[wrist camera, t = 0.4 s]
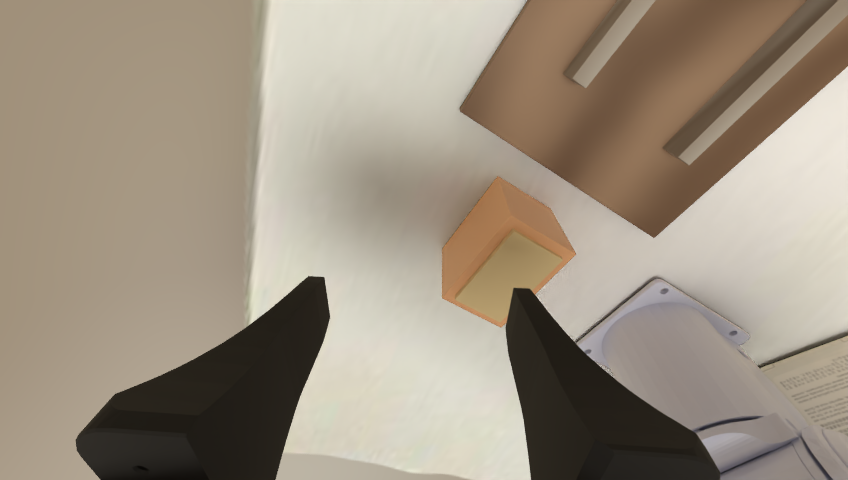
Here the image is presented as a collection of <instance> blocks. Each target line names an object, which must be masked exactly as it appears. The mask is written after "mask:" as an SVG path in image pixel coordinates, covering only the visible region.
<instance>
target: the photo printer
mask: <svg viewBox="0 0 848 480" xmlns="http://www.w3.org/2000/svg"><path fill="white" fill-rule="evenodd" d="M760 369H761V371H762V372H763V373H764V374H765V375H766V376H767V377H768V378H769V379H770V380H771V382H772V383H773V384H774V385H775V386H776V387H777V388H778V389H779V390H780V392H781V393H782V394H783V395H784V396H785V397H786V398H787V399H788V400H789V401H790V403H791V404H792V405H793V406H794V407H795V408H796V409H797V410H798V411H799V413H800V414H801V415H802V416H803V418H804V419H805V421H806V422H807V424H808V426H811V425H819V426H822V427H824V428H825V429H829V430H833V431H837V432H840V433H843V434H845V435H846V436H848V336H846V337H843V338H840V339H838V340H835V341H832V342H829V343H827V344H824V345H821V346H819V347H816V348H813V349H810V350H808V351H805V352H802V353H800V354H797V355H794V356H791V357H789V358H786V359H784V360H781V361H778V362H775V363H773V364H769V365H767V366H764V367H762V368H760Z"/></svg>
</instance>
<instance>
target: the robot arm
mask: <svg viewBox="0 0 848 480" xmlns="http://www.w3.org/2000/svg"><path fill="white" fill-rule="evenodd" d="M664 288H665V289H664ZM662 289H664V290H662ZM329 319H330V313H329V306H328V299H327V293H326V286H325V279H324V277H313V276H308V277H307V278H306V279H305V280H304V281H302V282H301V283H300V284H299V285H298V286H297V287H296V288H294V289H293V290H292V291H291V292H290V293H289V294H288V295H286V296H285V297H284V298H283V299H282V300H281V301H279V302H278V303H277V304H276V305H275V306H273V307H272V308H271V309H270V310H269V311H267V312H266V313H265V314H263V315H262V316H261V317H259V318H258V319H257V320H256V321H254V322H253V323H252V324H250V325H249V326H248V327H246V328H245V329H243V330H242V331H240V332H239V333H237V334H236V335H234V336H233V337H231V338H230V339H228V340H227V341H225V342H224V343H222V344H220V345H219V346H217V347H215V348H213V349H211V350H210V351H208V352H206V353H204V354H203V355H201V356H199V357H197V358H196V359H194V360H192V361H190V362H188V363H186V364H184V365H182V366H180V367H178V368H176V369H173V370H171V371H169V372H167V373H165V374H163V375H161V376H158V377H156V378H154V379H151V380H149V381H147V382H144V383H142V384H139V385H137V386H134V387H132V388H130V389H127V390H125V391H122V392H120V393H117V394H115V395H114V396H113V397H112V398H111V399H110V400H109V401H108V403H107V404H106V405H105V406H104V407H103V408H102V409H101V410H100V411H99V413H98V414H97V415H96V416H95V417H94V418H93V419H92V420H91V421H90V423H89V424H88V425H87V426H86V427H85V428H84V429H83V431H81V433H80V434H79V435H78V437H77V439H76V447H77V451H78V453H79V454H80V456H81V457H82V458H83V460H84V461H85V462H86V463H87V464H88V465H89V467H90V468H91V469H92V470H93V471H94V472H95V474H96V475H97V476H98V477H99V478H100V479H101V480H275V479H276V475H277V471H278V468H279V464H280V460H281V457H282V453H283V450H284V446H285V443H286V439H287V436H288V433H289V429H290V426H291V423H292V419H293V416H294V413H295V410H296V407H297V404H298V401H299V398H300V396H301V393H302V391H303V388H304V386H305V384H306V381H307V379H308V376H309V374H310V372H311V369H312V367H313V365H314V362H315V360H316V358H317V355H318V353H319V351H320V348H321V346H322V343H323V341H324V337H325V334H326V331H327V327H328V323H329ZM506 337H507V346H508V353H509V358H510V362H511V366H512V371H513V375H514V379H515V383H516V387H517V391H518V396H519V400H520V404H521V408H522V414H523V419H524V426H525V433H526V440H527V448H528V456H529V465H530V473H531V480H848V436H846V435H845V434H843V433H840V432H837V431H833V430H829V429H825V428H824V427H822V426H819V425H811V426H808V424H807V422H806V421H805V419H804V418H803V416H802V415H801V414H800V413H799V411H798V410H797V409H796V408H795V407H794V406H793V405H792V404H791V403H790V401H789V400H788V399H787V398H786V397H785V396H784V395H783V394H782V393H781V392H780V390H779V389H778V388H777V387H776V386H775V385H774V384H773V383H772V382H771V380H770V379H769V378H768V377H767V376H766V375H765V374H764V373H763V372H762V371H761V369H760V368H759V367H758V366H757V365H756V364H755V363H754V362H753V361H752V359H751V358H750V357H749V356H748V355H747V354H746V353H745V352H744V351H743V350H742V348H741V347H740V345H741V344H743V343H745V342H746V341H747V340H749V338H750V335H749V334H748V333H747V332H746V331H745V330H743V329H741V328H740V327H738V326H737V325H735V324H733V323H732V322H730V321H728V320H727V319H725V318H724V317H722V316H720V315H719V314H717V313H716V312H714V311H712V310H711V309H709V308H707V307H706V306H704V305H703V304H701V303H699V302H698V301H696V300H695V299H693V298H691V297H690V296H688V295H686V294H685V293H683V292H682V291H680V290H678V289H677V288H675V287H674V286H672V285H670V284H669V283H667V282H665V281H664V280H662V279H655V280H653V281H651V282H650V283H649V284H648V285H646V286H645V287H644V288H643V289H641V290H640V291H639V292H638V293H637V294H635V295H634V296H633V297H632V298H631V299H629V300H628V301H627V302H626V303H624V304H623V305H622V306H621V307H620V308H618V309H617V310H616V311H615V312H613V313H612V314H611V315H610V316H609V317H607V318H606V319H605V320H604V321H603V322H601V323H600V324H599V325H598V326H596V327H595V328H594V329H593V330H592V331H590V332H589V333H588V334H587V335H585V336H584V337H583V338H582V339H581V340H579V341H578V342H577V343H575V342H574V341H573V340H572V339H571V338H570V337H569V336H568V335H567V334H566V333H565V331H564V330H563V329H562V328H561V327H560V326H559V324H558V323H557V322H556V321H555V320H554V318H553V317H552V316H551V315H550V314H549V312H548V311H547V310H546V309H545V307H544V306H543V305H542V303H541V302H540V301H539V299H538V298H537V297H536V296H535V294H534V293H533V292H532V290H531V289H529V288H513V293H512V298H511V303H510V308H509V313H508V318H507V323H506ZM587 349H588V350H587ZM593 360H594V361H596V362H598V363H600V364H602V365H604V366H606V367H608V368H610V369H611V371H612V373H613V376H614V378H615V379H614V378H613V377H612V376H611V375H609V374H608V373H607V372H606V371H605V370H603V369H602V368H601V367H600V366H599V365H598V364H597V363H595V362H594V361H593Z"/></svg>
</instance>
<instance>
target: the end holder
mask: <svg viewBox="0 0 848 480" xmlns="http://www.w3.org/2000/svg"><path fill="white" fill-rule="evenodd" d="M847 66H848V0H528V1H527V2H526V4H525V6H524V7H523V9H522V10H521V12H520V14H519V15H518V17H517V18H516V20H515V21H514V23H513V25H512V26H511V28H510V29H509V31H508V33H507V34H506V36H505V37H504V39H503V41H502V42H501V44H500V45H499V47H498V48H497V50H496V52H495V53H494V55H493V56H492V58H491V60H490V61H489V63H488V64H487V66H486V67H485V69H484V71H483V72H482V74H481V75H480V77H479V79H478V80H477V82H476V83H475V85H474V87H473V88H472V90H471V91H470V93H469V94H468V96H467V98H466V99H465V101H464V102H463V104H462V106H461V107H460V112H462V113H463V114H465V115H467V116H468V117H470V118H471V119H473V120H474V121H476V122H477V123H479V124H480V125H482V126H483V127H485V128H486V129H488V130H489V131H491V132H493V133H494V134H496V135H497V136H499V137H500V138H502V139H503V140H505V141H506V142H508V143H509V144H511V145H512V146H514V147H516V148H517V149H519V150H520V151H522V152H523V153H525V154H526V155H528V156H529V157H531V158H532V159H534V160H535V161H537V162H538V163H540V164H542V165H543V166H545V167H546V168H548V169H549V170H551V171H552V172H554V173H555V174H557V175H558V176H560V177H561V178H563V179H565V180H566V181H568V182H569V183H571V184H572V185H574V186H575V187H577V188H578V189H580V190H581V191H583V192H584V193H586V194H587V195H589V196H591V197H592V198H594V199H595V200H597V201H598V202H600V203H601V204H603V205H604V206H606V207H607V208H609V209H610V210H612V211H613V212H615V213H617V214H618V215H620V216H621V217H623V218H624V219H626V220H627V221H629V222H630V223H632V224H633V225H635V226H636V227H638V228H640V229H641V230H643V231H644V232H646V233H647V234H649V235H650V236H652V237H653V238H655V237H656V236H657V235H658V234H659V233H660V232H661V231H662V230H664V229H665V228H666V227H667V226H668V225H669V224H670V223H672V222H673V221H674V220H675V219H676V218H677V217H678V216H679V215H681V214H682V213H683V212H684V211H685V210H686V209H687V208H688V207H690V206H691V205H692V204H693V203H694V202H695V201H696V200H697V199H699V198H700V197H701V196H702V195H703V194H704V193H705V192H706V191H708V190H709V189H710V188H711V187H712V186H713V185H714V184H715V183H717V182H718V181H719V180H720V179H721V178H722V177H723V176H725V175H726V174H727V173H728V172H729V171H730V170H731V169H732V168H734V167H735V166H736V165H737V164H738V163H739V162H740V161H741V160H743V159H744V158H745V157H746V156H747V155H748V154H749V153H750V152H752V151H753V150H754V149H755V148H756V147H757V146H758V145H759V144H761V143H762V142H763V141H764V140H765V139H766V138H767V137H768V136H770V135H771V134H772V133H773V132H774V131H775V130H776V129H777V128H779V127H780V126H781V125H782V124H783V123H784V122H785V121H787V120H788V119H789V118H790V117H791V116H792V115H793V114H794V113H796V112H797V111H798V110H799V109H800V108H801V107H802V106H803V105H805V104H806V103H807V102H808V101H809V100H810V99H811V98H812V97H814V96H815V95H816V94H817V93H818V92H819V91H820V90H821V89H823V88H824V87H825V86H826V85H827V84H828V83H829V82H830V81H832V80H833V79H834V78H835V77H836V76H837V75H838V74H840V73H841V72H842V71H843V70H844V69H845V68H846V67H847Z"/></svg>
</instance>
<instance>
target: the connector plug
mask: <svg viewBox="0 0 848 480" xmlns="http://www.w3.org/2000/svg"><path fill="white" fill-rule="evenodd" d="M575 255H576V253H575V251H574V249H573V248H572V246H571V244H570V242H569V241H568V239H567V237H566V235H565V233H564V232H563V230H562V228H561V226H560V225H559V223H558V221H557V219H556V217H555V216H554V214H553V212H552V210H551V209H550V208H548V207H547V206H545V205H544V204H542V203H540V202H539V201H537V200H535V199H534V198H532V197H531V196H529V195H527V194H526V193H524V192H523V191H521V190H519V189H518V188H516V187H515V186H513V185H511V184H510V183H508V182H506V181H505V180H503V179H502V178H500V177H498V176H497V178H496V179H495V180H494V182H493V183H492V184H491V186H490V187H489V188H488V189H487V191H486V192H485V193H484V195H483V196H482V197H481V199H480V200H479V201H478V203H477V204H476V205H475V207H474V208H473V209H472V210H471V212H470V213H469V214H468V216H467V217H466V218H465V220H464V221H463V222H462V224H461V225H460V226H459V228H458V229H457V230H456V231H455V233H454V234H453V235H452V237H451V238H450V239H449V241H448V242H447V243H446V245H445V246H444V247H443V249H442V298H443V299H445V300H447V301H449V302H451V303H453V304H455V305H457V306H459V307H461V308H463V309H465V310H467V311H469V312H471V313H473V314H475V315H477V316H479V317H481V318H483V319H485V320H487V321H489V322H491V323H493V324H495V325H497V326H499V327H502V326H503V325H504V324H505V323H506V322H507V318H508V313H509V308H510V303H511V298H512V293H513V288H529V289H531V290H532V292H533V293H534V294H536V293H537V292H538V291H539V290H540V289H541V288H542V287H543V286H544V285H545V284H546V283H547V282H548V281H549V280H550V279H551V278H552V277H553V276H554V275H555V274H556V273H557V272H558V271H559V270H560V269H561V268H562V267H563V266H565V265H566V264H567V263H568V262H569V261H570V260H571V259H572V258H573V257H574V256H575Z"/></svg>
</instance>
